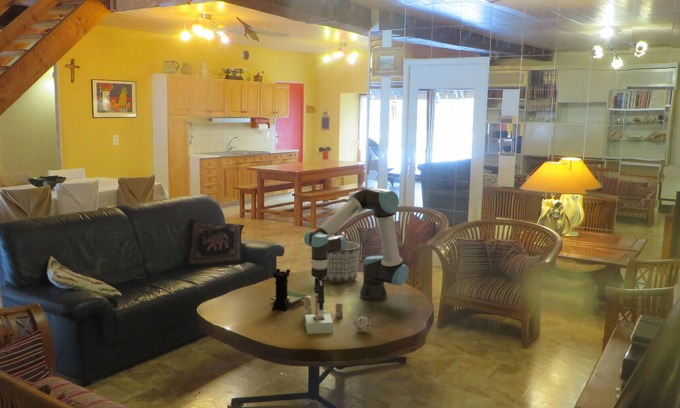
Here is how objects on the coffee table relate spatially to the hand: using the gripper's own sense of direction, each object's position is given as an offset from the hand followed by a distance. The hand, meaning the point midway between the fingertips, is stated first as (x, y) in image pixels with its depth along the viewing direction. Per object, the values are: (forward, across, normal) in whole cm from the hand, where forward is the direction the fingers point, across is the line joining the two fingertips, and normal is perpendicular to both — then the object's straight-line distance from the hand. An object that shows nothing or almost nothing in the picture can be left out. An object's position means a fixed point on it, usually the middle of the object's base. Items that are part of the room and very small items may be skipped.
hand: (319, 311), depth 280 cm
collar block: (+9, 0, 0) cm, 9 cm away
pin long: (+9, 0, 0) cm, 9 cm away
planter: (+9, -80, +21) cm, 83 cm away
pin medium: (+9, -15, -4) cm, 18 cm away
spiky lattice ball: (+9, +7, +20) cm, 23 cm away
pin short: (+9, -15, +12) cm, 21 cm away
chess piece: (+9, -32, -16) cm, 37 cm away
